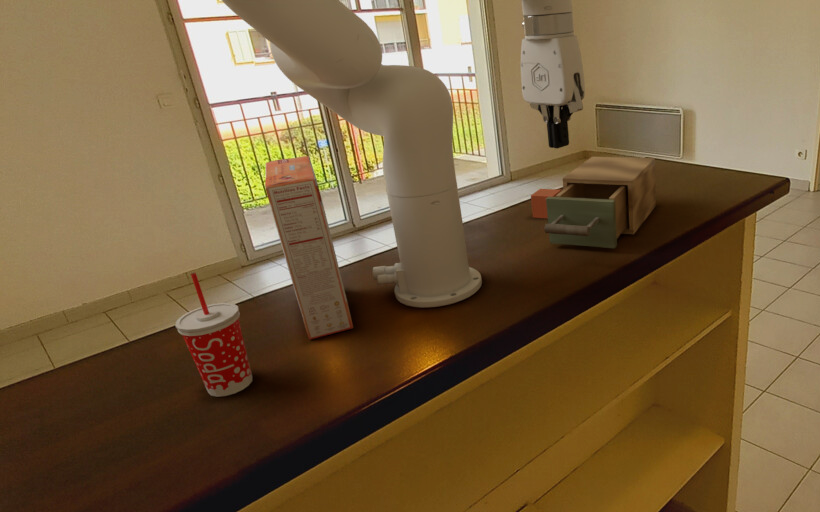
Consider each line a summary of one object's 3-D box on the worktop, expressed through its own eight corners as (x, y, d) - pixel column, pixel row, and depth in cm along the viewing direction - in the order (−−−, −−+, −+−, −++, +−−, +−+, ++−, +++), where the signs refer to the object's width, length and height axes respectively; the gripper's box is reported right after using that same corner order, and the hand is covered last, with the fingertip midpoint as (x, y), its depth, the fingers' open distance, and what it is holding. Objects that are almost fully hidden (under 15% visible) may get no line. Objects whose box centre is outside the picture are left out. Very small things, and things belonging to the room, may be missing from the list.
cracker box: (301, 300, 90) (263, 160, 82) (344, 290, 92) (311, 153, 84) (305, 342, 78) (261, 184, 70) (354, 330, 80) (317, 175, 72)
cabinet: (633, 234, 105) (632, 180, 102) (566, 229, 110) (562, 178, 106) (655, 206, 119) (655, 158, 115) (594, 203, 123) (592, 156, 120)
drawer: (602, 263, 93) (599, 215, 90) (534, 257, 97) (529, 210, 94) (639, 218, 110) (637, 176, 107) (580, 215, 114) (577, 174, 111)
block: (554, 219, 116) (552, 196, 114) (532, 217, 117) (530, 195, 116) (563, 211, 120) (561, 189, 118) (542, 210, 121) (540, 188, 119)
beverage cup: (187, 400, 68) (145, 286, 62) (224, 369, 73) (188, 262, 68) (237, 401, 67) (198, 286, 61) (270, 370, 72) (238, 261, 67)
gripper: (498, 30, 95) (511, 146, 102) (568, 28, 86) (577, 156, 93) (532, 26, 100) (543, 137, 107) (602, 23, 91) (609, 145, 98)
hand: (559, 146), depth 100 cm, fingers closed
